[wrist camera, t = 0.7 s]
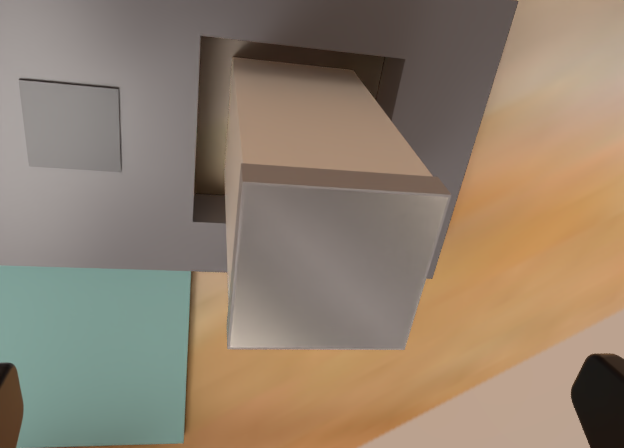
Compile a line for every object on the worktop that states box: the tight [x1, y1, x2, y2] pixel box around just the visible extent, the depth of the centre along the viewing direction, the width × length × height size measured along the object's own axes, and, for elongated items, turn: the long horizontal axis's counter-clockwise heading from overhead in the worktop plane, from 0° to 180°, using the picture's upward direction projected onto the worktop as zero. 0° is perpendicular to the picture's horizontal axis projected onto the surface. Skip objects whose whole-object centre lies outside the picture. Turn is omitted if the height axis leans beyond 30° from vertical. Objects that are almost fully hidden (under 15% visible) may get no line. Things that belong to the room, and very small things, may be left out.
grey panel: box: [0, 0, 518, 279], centre depth 17 cm, size 10×18×2 cm, turn 82°
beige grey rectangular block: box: [224, 57, 451, 350], centre depth 15 cm, size 4×4×9 cm
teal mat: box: [0, 265, 191, 448], centre depth 23 cm, size 10×10×1 cm
